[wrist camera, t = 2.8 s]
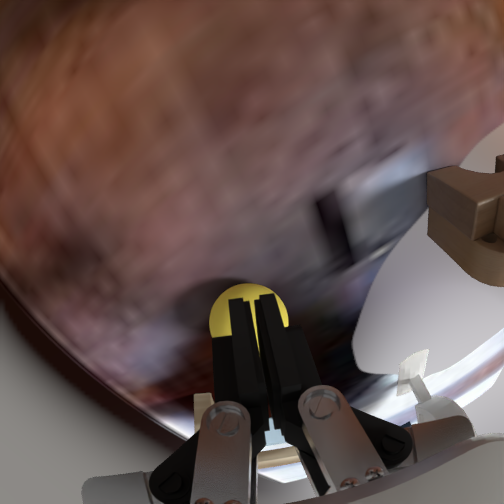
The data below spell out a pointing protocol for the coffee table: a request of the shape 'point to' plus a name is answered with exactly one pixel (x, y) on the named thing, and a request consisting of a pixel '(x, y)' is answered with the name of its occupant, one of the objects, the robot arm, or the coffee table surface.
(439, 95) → the coffee table surface
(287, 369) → the robot arm
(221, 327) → the ball
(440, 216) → the wooden toy
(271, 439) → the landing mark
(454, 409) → the heart sculpture
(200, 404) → the bridge
